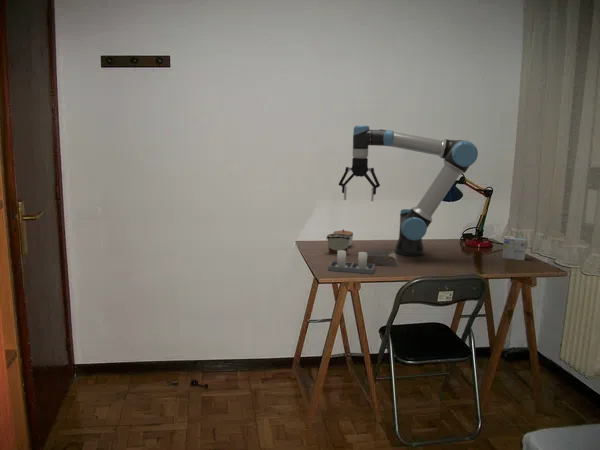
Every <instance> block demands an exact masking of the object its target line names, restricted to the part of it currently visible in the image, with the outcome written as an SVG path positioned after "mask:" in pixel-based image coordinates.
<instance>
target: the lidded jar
mask: <svg viewBox="0 0 600 450" xmlns="http://www.w3.org/2000/svg"><path fill="white" fill-rule="evenodd" d="M332 234H346V235H349V236H350V239H349V245H348V247H349V246H350V245H352V242H353V240H354V239H353V238H354V232H353V231H349V230H345V229H342V230H335V231H333V233H332Z"/></svg>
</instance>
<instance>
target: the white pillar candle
mask: <svg viewBox="0 0 600 450" xmlns="http://www.w3.org/2000/svg"><path fill="white" fill-rule="evenodd" d="M357 260H358V261H357V263H358V266H357V267H355V268H362V269H369V268H368V267H367V264H368V260H367V252H366V251H359V252H358V259H357Z"/></svg>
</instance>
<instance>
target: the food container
mask: <svg viewBox="0 0 600 450" xmlns="http://www.w3.org/2000/svg"><path fill="white" fill-rule="evenodd" d="M349 239H350V236H349V235H346V234H333V233H329V234H327V236H326V240H327V248H328V249H327V250H328V255H330V256H331V255H332V256H334V255H335V256H337V251H339V250H344V251H346V256H348V250H349V246H350V245H349ZM348 245H349V246H348Z"/></svg>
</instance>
